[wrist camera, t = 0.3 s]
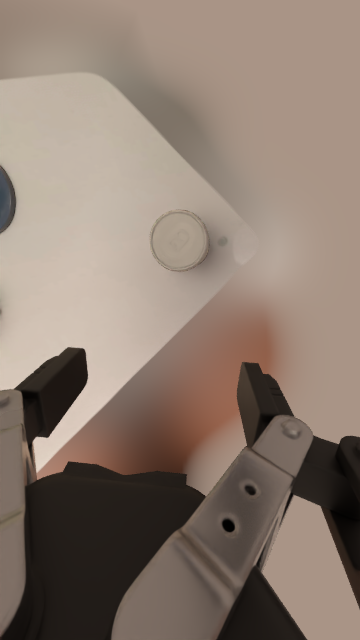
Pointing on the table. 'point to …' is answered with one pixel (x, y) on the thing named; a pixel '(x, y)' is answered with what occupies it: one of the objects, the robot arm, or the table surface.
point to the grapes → (6, 200)
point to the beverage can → (179, 240)
